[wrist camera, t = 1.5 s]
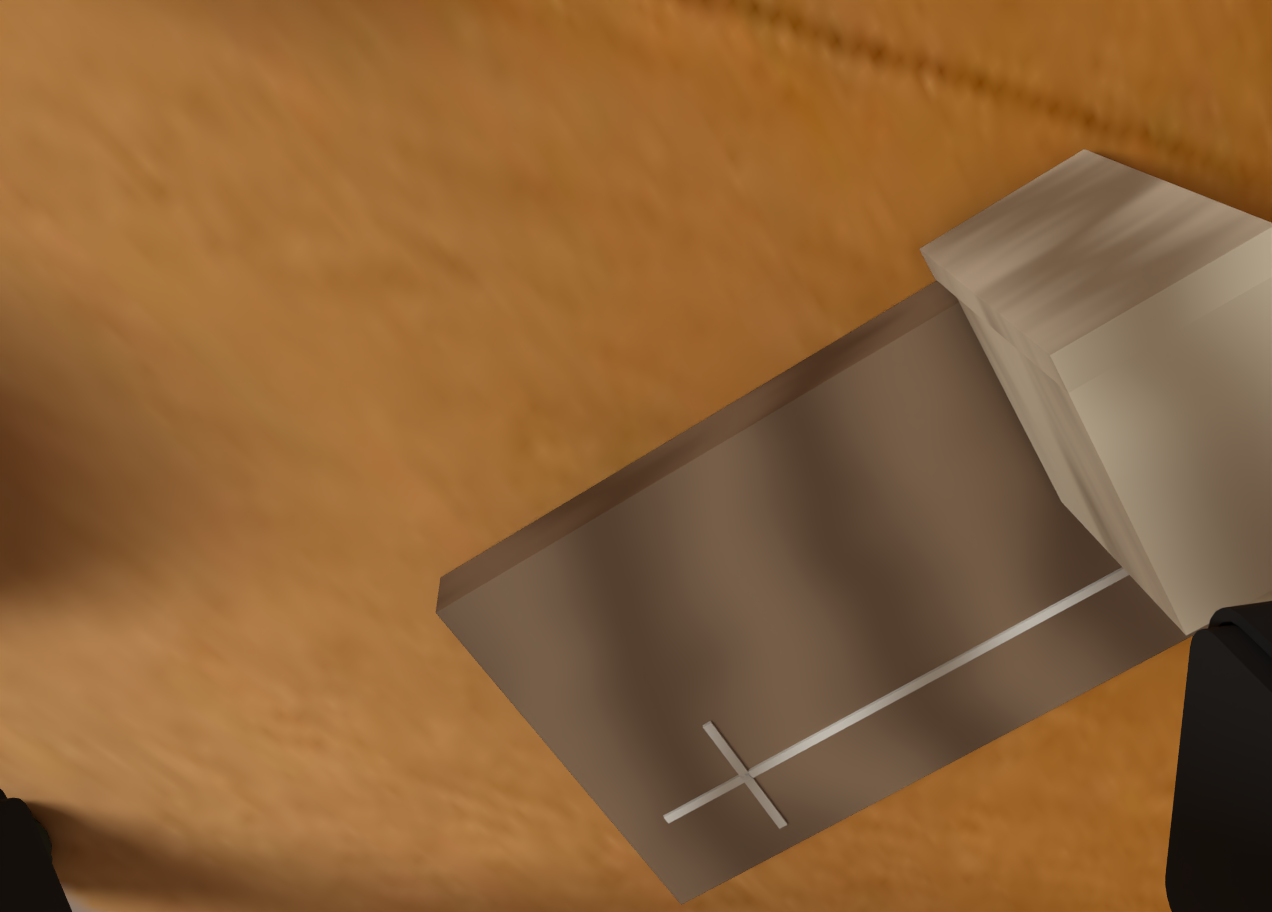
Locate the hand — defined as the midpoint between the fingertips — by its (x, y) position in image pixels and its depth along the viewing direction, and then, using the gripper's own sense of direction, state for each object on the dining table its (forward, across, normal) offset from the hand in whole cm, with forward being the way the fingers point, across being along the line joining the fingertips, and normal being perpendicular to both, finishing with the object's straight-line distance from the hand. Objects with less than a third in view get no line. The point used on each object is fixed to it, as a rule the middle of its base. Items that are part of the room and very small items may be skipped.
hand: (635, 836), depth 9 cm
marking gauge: (+23, -15, +7) cm, 28 cm away
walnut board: (+24, -8, +12) cm, 28 cm away
